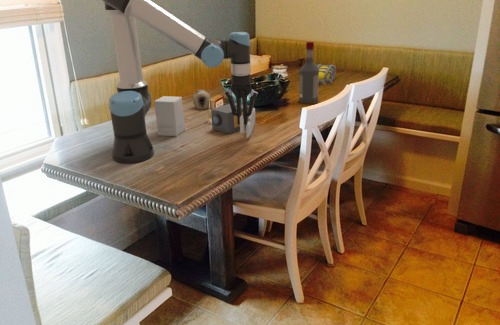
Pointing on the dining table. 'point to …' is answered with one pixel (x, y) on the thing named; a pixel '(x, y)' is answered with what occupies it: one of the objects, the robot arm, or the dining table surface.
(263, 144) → the dining table surface
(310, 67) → the liquor
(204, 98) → the garlic bulb
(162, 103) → the supplement box
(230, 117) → the camera case
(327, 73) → the cage light
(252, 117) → the side door
